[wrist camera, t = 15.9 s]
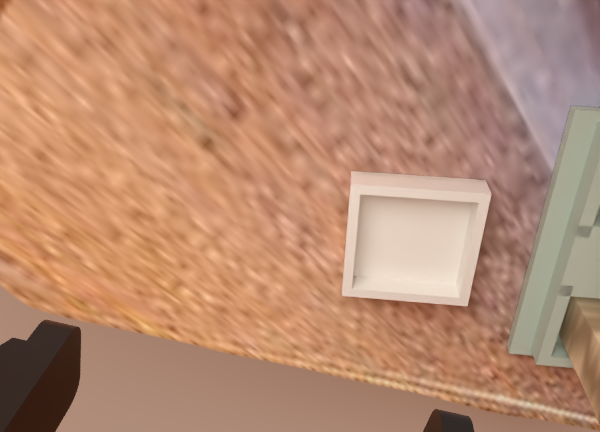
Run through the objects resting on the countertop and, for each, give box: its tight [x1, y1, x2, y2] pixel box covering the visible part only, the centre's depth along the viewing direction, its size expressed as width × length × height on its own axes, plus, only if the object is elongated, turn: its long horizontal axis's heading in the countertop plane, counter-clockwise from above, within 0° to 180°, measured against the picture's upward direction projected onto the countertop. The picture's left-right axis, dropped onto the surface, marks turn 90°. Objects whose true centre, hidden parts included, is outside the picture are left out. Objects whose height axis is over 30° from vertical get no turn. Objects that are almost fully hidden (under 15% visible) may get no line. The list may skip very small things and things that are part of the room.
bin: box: [342, 171, 491, 306], centre depth 47 cm, size 11×11×2 cm
